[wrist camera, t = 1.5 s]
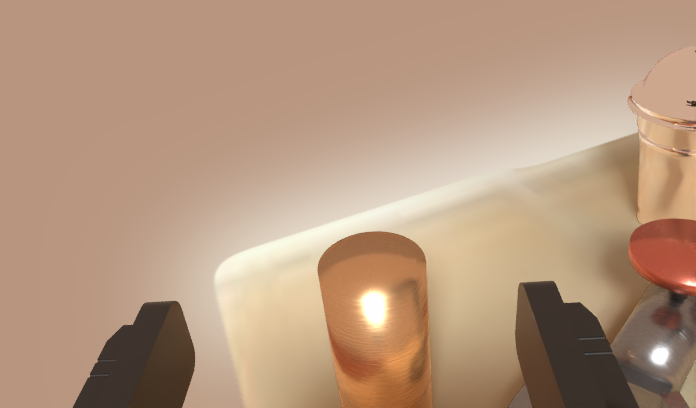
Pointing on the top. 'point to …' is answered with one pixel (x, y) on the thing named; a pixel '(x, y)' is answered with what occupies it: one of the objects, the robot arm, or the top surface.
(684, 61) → the cup with straw
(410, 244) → the copper cylinder
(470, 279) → the top surface
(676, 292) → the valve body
